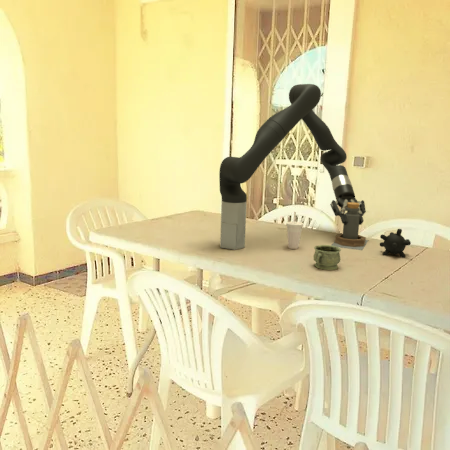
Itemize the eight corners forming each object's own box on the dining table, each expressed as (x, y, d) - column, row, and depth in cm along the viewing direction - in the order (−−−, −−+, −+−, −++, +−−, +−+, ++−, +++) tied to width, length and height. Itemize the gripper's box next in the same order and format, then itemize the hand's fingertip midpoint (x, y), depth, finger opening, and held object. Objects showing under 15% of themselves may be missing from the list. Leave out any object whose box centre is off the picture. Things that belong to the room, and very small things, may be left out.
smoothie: (282, 248, 176) (284, 212, 173) (288, 245, 182) (290, 209, 179) (298, 251, 173) (301, 214, 170) (304, 247, 179) (306, 211, 176)
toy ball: (390, 241, 180) (420, 239, 171) (382, 264, 175) (413, 264, 166) (377, 224, 175) (407, 221, 166) (368, 247, 170) (399, 246, 161)
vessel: (324, 260, 163) (325, 242, 162) (347, 265, 158) (348, 247, 156) (304, 267, 155) (306, 248, 153) (328, 273, 149) (330, 254, 148)
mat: (362, 251, 176) (362, 250, 176) (330, 247, 181) (330, 246, 181) (368, 241, 192) (368, 240, 192) (338, 237, 197) (338, 236, 197)
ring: (362, 248, 180) (362, 241, 179) (333, 244, 184) (333, 238, 183) (366, 241, 189) (366, 235, 189) (338, 238, 194) (339, 232, 193)
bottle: (356, 239, 189) (359, 202, 186) (358, 242, 183) (362, 204, 180) (341, 238, 190) (344, 201, 186) (343, 242, 184) (346, 204, 181)
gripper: (329, 183, 188) (339, 218, 179) (362, 183, 190) (374, 218, 182) (323, 194, 194) (332, 229, 185) (355, 194, 197) (366, 228, 188)
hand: (353, 223), depth 183 cm, fingers closed on bottle, 5 cm apart
